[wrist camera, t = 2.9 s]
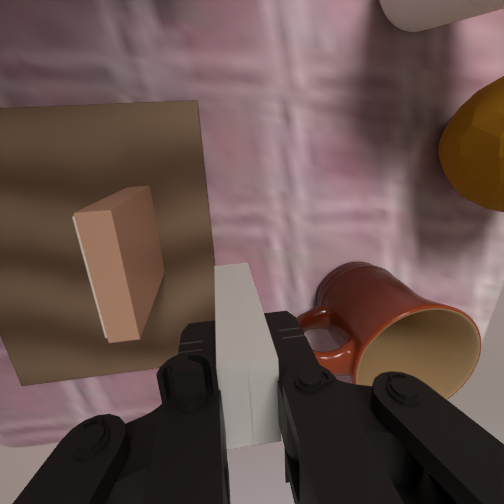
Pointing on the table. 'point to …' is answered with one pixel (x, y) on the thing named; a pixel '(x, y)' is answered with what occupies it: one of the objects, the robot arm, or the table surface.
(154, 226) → the tile
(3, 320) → the board
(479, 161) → the apple
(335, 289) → the mug
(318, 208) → the table surface
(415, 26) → the cup
